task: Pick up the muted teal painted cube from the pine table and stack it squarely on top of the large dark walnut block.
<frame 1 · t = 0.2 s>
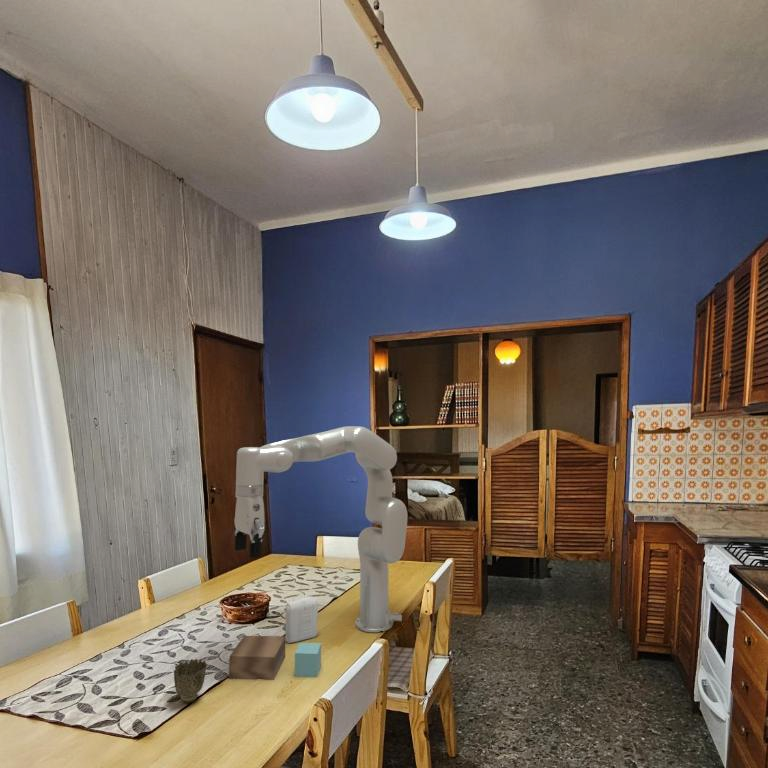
hand: (247, 553, 133), 31 cm above the table, tool pointing down, fingers open, 9 cm apart
teal cube: (308, 671, 129), on the table
photo printer: (301, 639, 148), on the table
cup: (189, 700, 115), on the table
walnut block: (258, 668, 130), on the table
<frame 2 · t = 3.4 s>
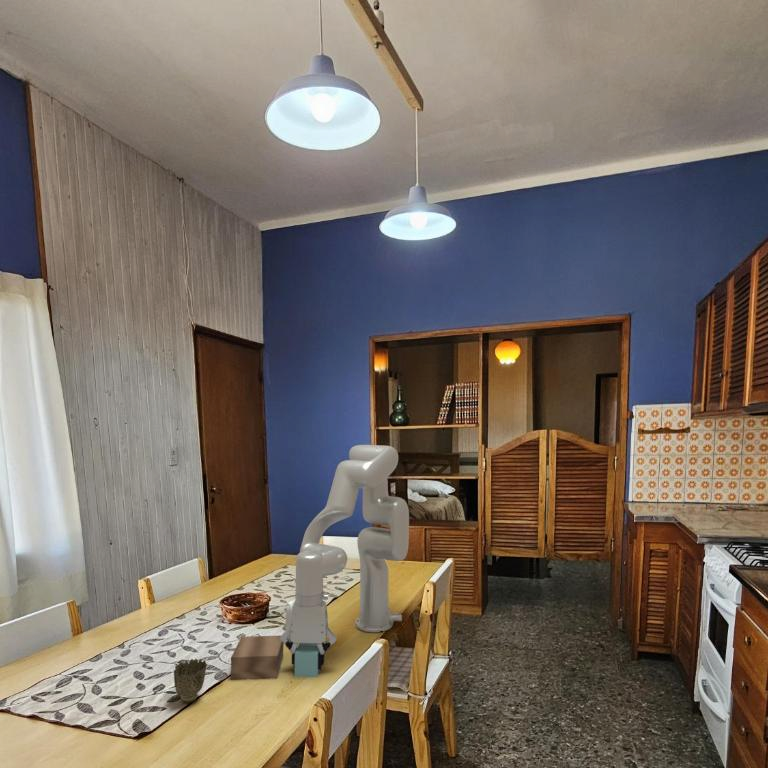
hand: (308, 666, 129), 1 cm above the table, tool pointing down, fingers closed on teal cube, 6 cm apart
teal cube: (307, 670, 129), on the table, touching gripper
everything else where it was.
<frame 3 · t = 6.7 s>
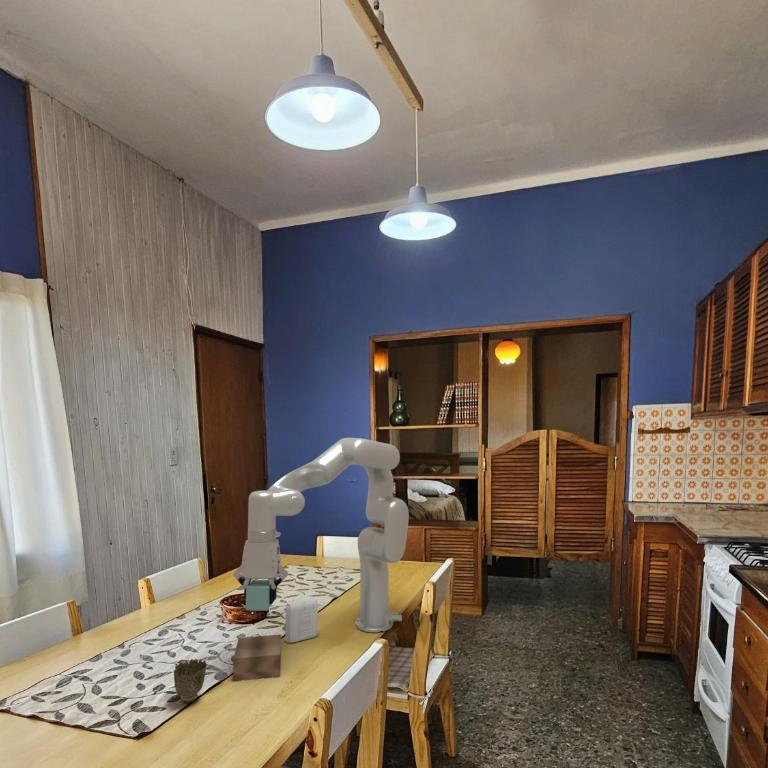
hand: (260, 601, 132), 18 cm above the table, tool pointing down, fingers closed on teal cube, 6 cm apart
teal cube: (260, 606, 132), point 16 cm above the table, touching gripper
everything else where it was.
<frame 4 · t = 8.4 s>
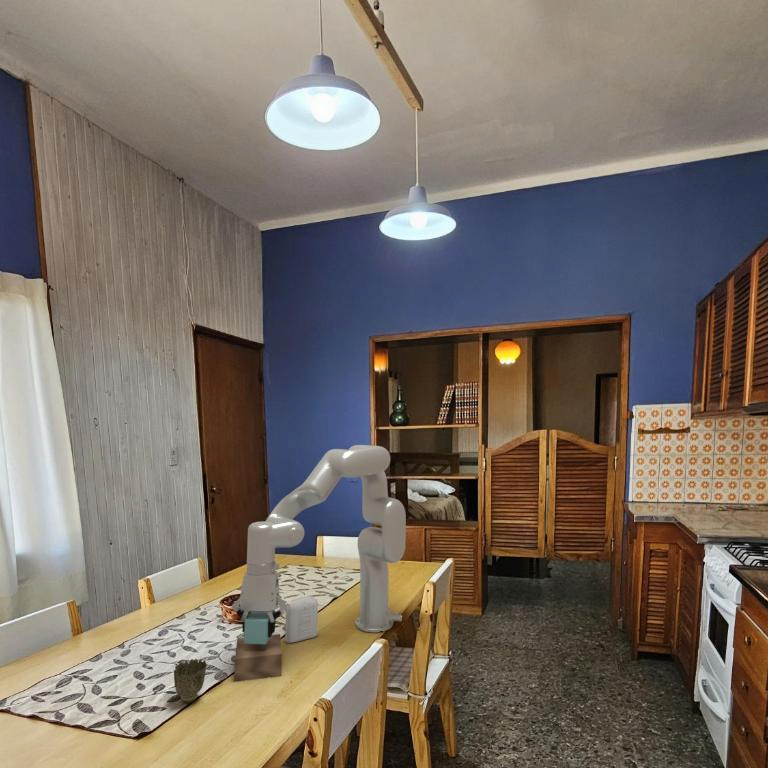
hand: (258, 634, 131), 9 cm above the table, tool pointing down, fingers closed on teal cube, 6 cm apart
teal cube: (258, 638, 131), point 8 cm above the table, touching gripper
when the fingers open (8 cm above the table, at t = 10.0 s): teal cube stays where it is, point 6 cm above the table.
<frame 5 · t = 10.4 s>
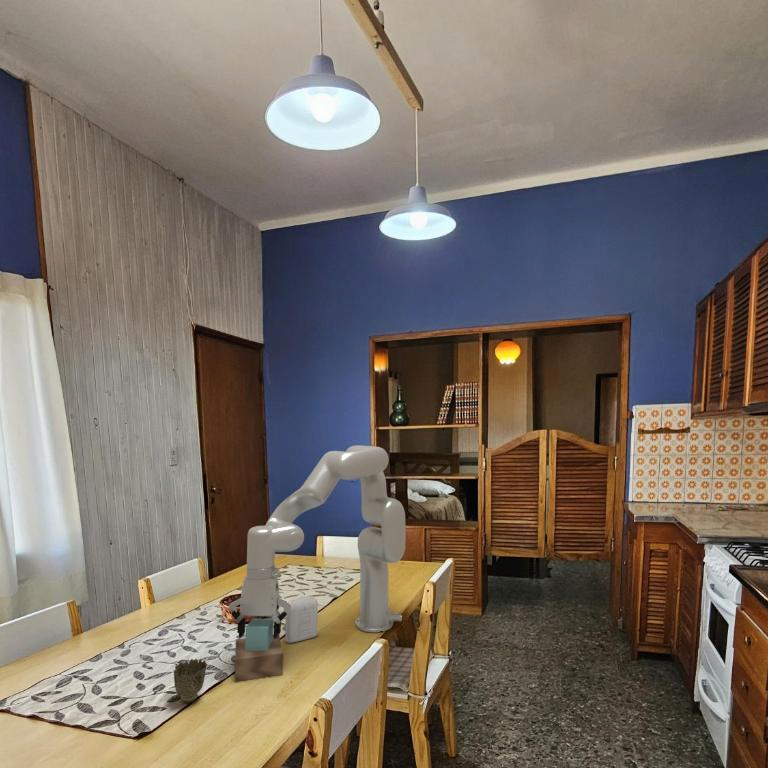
hand: (259, 636, 131), 8 cm above the table, tool pointing down, fingers open, 9 cm apart
teal cube: (259, 645, 131), point 6 cm above the table
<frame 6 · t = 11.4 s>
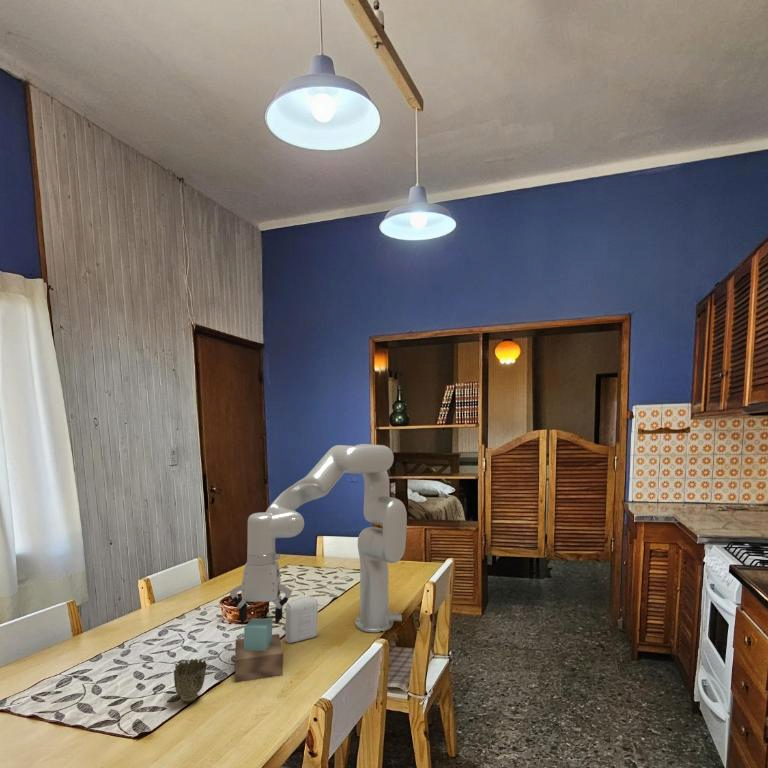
hand: (260, 621, 131), 12 cm above the table, tool pointing down, fingers open, 9 cm apart
teal cube: (258, 645, 131), point 6 cm above the table, touching walnut block
walnut block: (258, 668, 130), on the table, touching teal cube
everything else where it was.
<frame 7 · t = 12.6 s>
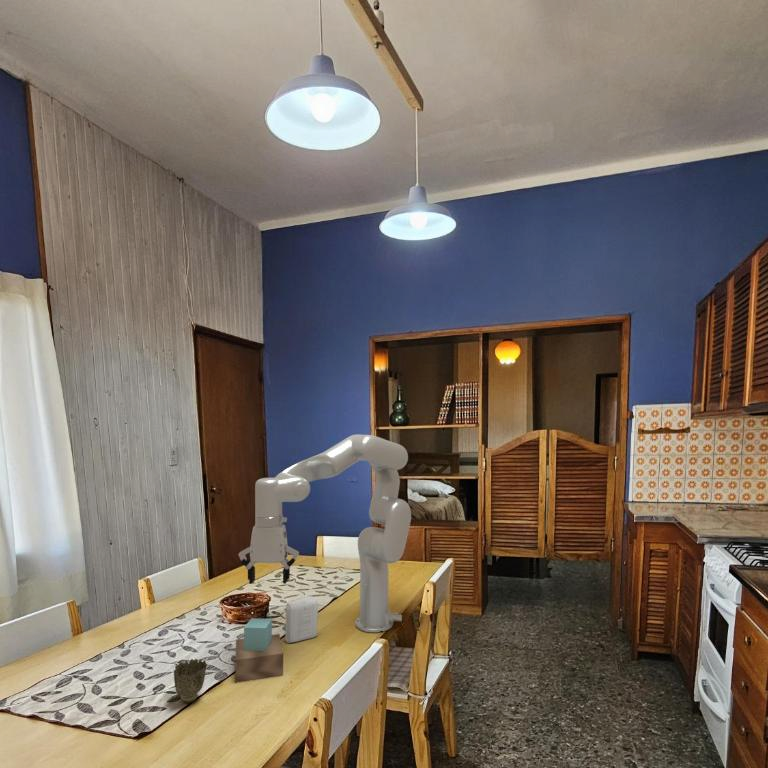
hand: (268, 582, 136), 21 cm above the table, tool pointing down, fingers open, 9 cm apart
teal cube: (257, 645, 131), point 6 cm above the table
walnut block: (258, 668, 130), on the table
everything else where it was.
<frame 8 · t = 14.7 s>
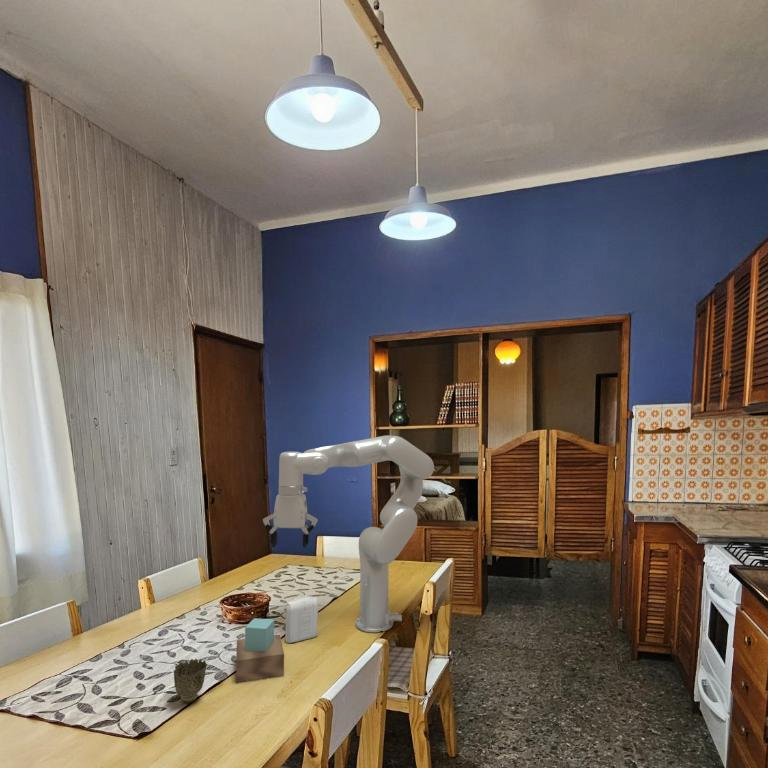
hand: (289, 546, 149), 28 cm above the table, tool pointing down, fingers open, 9 cm apart
nothing on the table moved.
at the end: teal cube inside the target area on the walnut block (0.5 cm from its centre), point 6.0 cm above the walnut block's base; teal cube tilted 0°; the gripper is holding nothing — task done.
